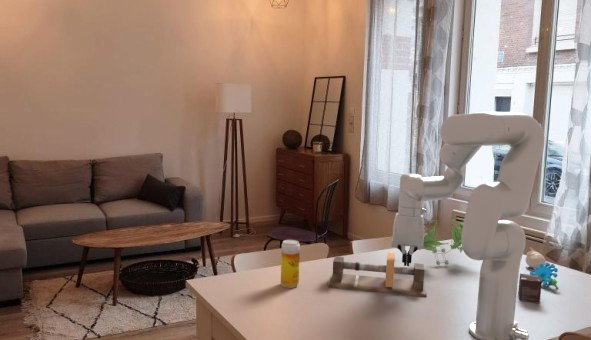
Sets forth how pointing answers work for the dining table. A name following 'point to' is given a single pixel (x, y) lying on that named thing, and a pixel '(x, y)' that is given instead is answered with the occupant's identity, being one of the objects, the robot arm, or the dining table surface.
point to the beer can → (290, 263)
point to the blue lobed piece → (546, 274)
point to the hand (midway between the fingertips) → (406, 264)
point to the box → (529, 288)
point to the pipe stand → (377, 278)
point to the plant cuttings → (430, 244)
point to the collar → (390, 269)
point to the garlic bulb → (534, 259)
